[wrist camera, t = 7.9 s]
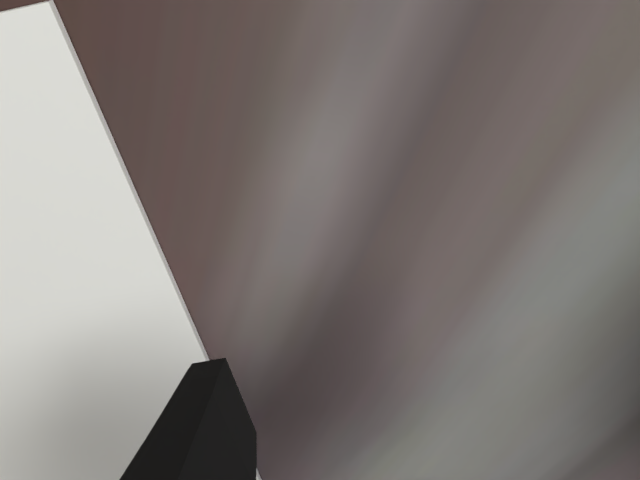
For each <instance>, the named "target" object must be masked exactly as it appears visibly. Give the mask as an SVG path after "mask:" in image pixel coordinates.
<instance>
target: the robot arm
mask: <svg viewBox="0 0 640 480" xmlns="http://www.w3.org/2000/svg"><path fill="white" fill-rule="evenodd" d="M119 480H256V431H255V428H254V426H253V423H252V421H251V419H250V416H249V414H248V411H247V409H246V406H245V404H244V402H243V399H242V397H241V394H240V392H239V389H238V387H237V385H236V382H235V380H234V377H233V375H232V372H231V370H230V368H229V365H228V363H227V360H226V358H222V359H216V360H210V361H204V362H198V363H192V364H191V366H190V367H189V368H188V370H187V372H186V373H185V375H184V376H183V378H182V380H181V381H180V383H179V385H178V386H177V388H176V390H175V391H174V393H173V395H172V396H171V398H170V400H169V401H168V403H167V405H166V406H165V408H164V410H163V411H162V413H161V415H160V416H159V418H158V419H157V421H156V423H155V424H154V426H153V428H152V429H151V431H150V432H149V434H148V436H147V437H146V439H145V440H144V442H143V444H142V445H141V447H140V448H139V450H138V451H137V453H136V454H135V456H134V458H133V459H132V461H131V462H130V464H129V465H128V467H127V468H126V470H125V472H124V473H123V475H122V476H121V478H120V479H119Z"/></svg>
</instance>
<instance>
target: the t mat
mask: <svg viewBox="0 0 640 480" xmlns="http://www.w3.org/2000/svg"><path fill="white" fill-rule="evenodd" d="M204 361H210V360H209V358H208V355H207V353H206V351H205V348H204V346H203V344H202V342H201V339H200V337H199V335H198V332H197V330H196V328H195V325H194V323H193V321H192V319H191V316H190V314H189V312H188V309H187V307H186V305H185V302H184V300H183V298H182V296H181V293H180V291H179V289H178V286H177V284H176V282H175V280H174V277H173V275H172V273H171V270H170V268H169V266H168V263H167V261H166V259H165V257H164V254H163V252H162V250H161V247H160V245H159V243H158V240H157V238H156V236H155V234H154V231H153V229H152V227H151V224H150V222H149V220H148V217H147V215H146V213H145V211H144V208H143V206H142V204H141V201H140V199H139V197H138V194H137V192H136V190H135V188H134V185H133V183H132V181H131V178H130V176H129V174H128V171H127V169H126V167H125V165H124V162H123V160H122V158H121V155H120V153H119V151H118V149H117V146H116V144H115V142H114V139H113V137H112V135H111V132H110V130H109V128H108V126H107V123H106V121H105V119H104V116H103V114H102V112H101V109H100V107H99V105H98V103H97V100H96V98H95V96H94V93H93V91H92V89H91V86H90V84H89V82H88V80H87V77H86V75H85V73H84V70H83V68H82V66H81V63H80V61H79V59H78V57H77V54H76V52H75V50H74V47H73V45H72V43H71V41H70V38H69V36H68V34H67V31H66V29H65V27H64V24H63V22H62V20H61V18H60V15H59V13H58V11H57V8H56V6H55V4H54V1H53V0H49V1H45V2H40V3H36V4H32V5H27V6H23V7H19V8H14V9H10V10H6V11H2V12H0V480H119V479H120V478H121V476H122V475H123V473H124V472H125V470H126V468H127V467H128V465H129V464H130V462H131V461H132V459H133V458H134V456H135V454H136V453H137V451H138V450H139V448H140V447H141V445H142V444H143V442H144V440H145V439H146V437H147V436H148V434H149V432H150V431H151V429H152V428H153V426H154V424H155V423H156V421H157V419H158V418H159V416H160V415H161V413H162V411H163V410H164V408H165V406H166V405H167V403H168V401H169V400H170V398H171V396H172V395H173V393H174V391H175V390H176V388H177V386H178V385H179V383H180V381H181V380H182V378H183V376H184V375H185V373H186V372H187V370H188V368H189V367H190V366H191V364H192V363H198V362H204ZM256 480H262V479H261V477H260V475H259V473H258V470H257V468H256Z"/></svg>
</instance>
